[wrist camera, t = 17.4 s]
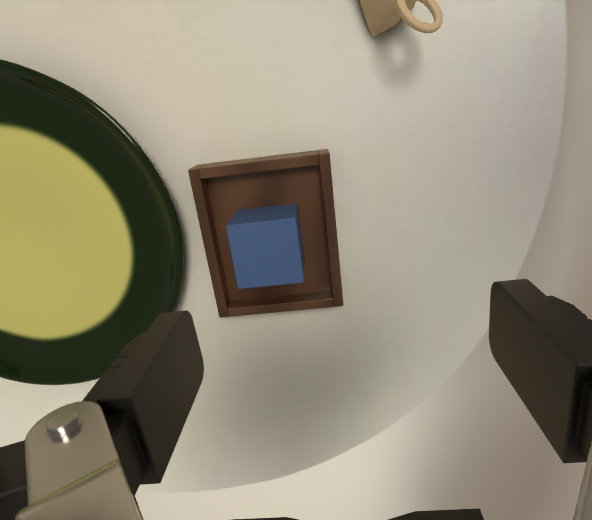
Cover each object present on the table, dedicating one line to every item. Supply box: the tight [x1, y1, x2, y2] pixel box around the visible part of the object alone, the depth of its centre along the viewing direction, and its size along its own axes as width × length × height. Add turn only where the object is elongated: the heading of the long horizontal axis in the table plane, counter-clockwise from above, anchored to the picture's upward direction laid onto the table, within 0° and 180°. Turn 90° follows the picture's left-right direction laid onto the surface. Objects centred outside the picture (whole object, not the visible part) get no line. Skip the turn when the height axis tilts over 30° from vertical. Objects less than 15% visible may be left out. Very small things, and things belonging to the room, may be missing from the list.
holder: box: [188, 149, 343, 317], centre depth 34 cm, size 11×13×2 cm
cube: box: [226, 203, 305, 289], centre depth 32 cm, size 5×5×4 cm
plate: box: [0, 60, 183, 385], centre depth 35 cm, size 28×28×2 cm
